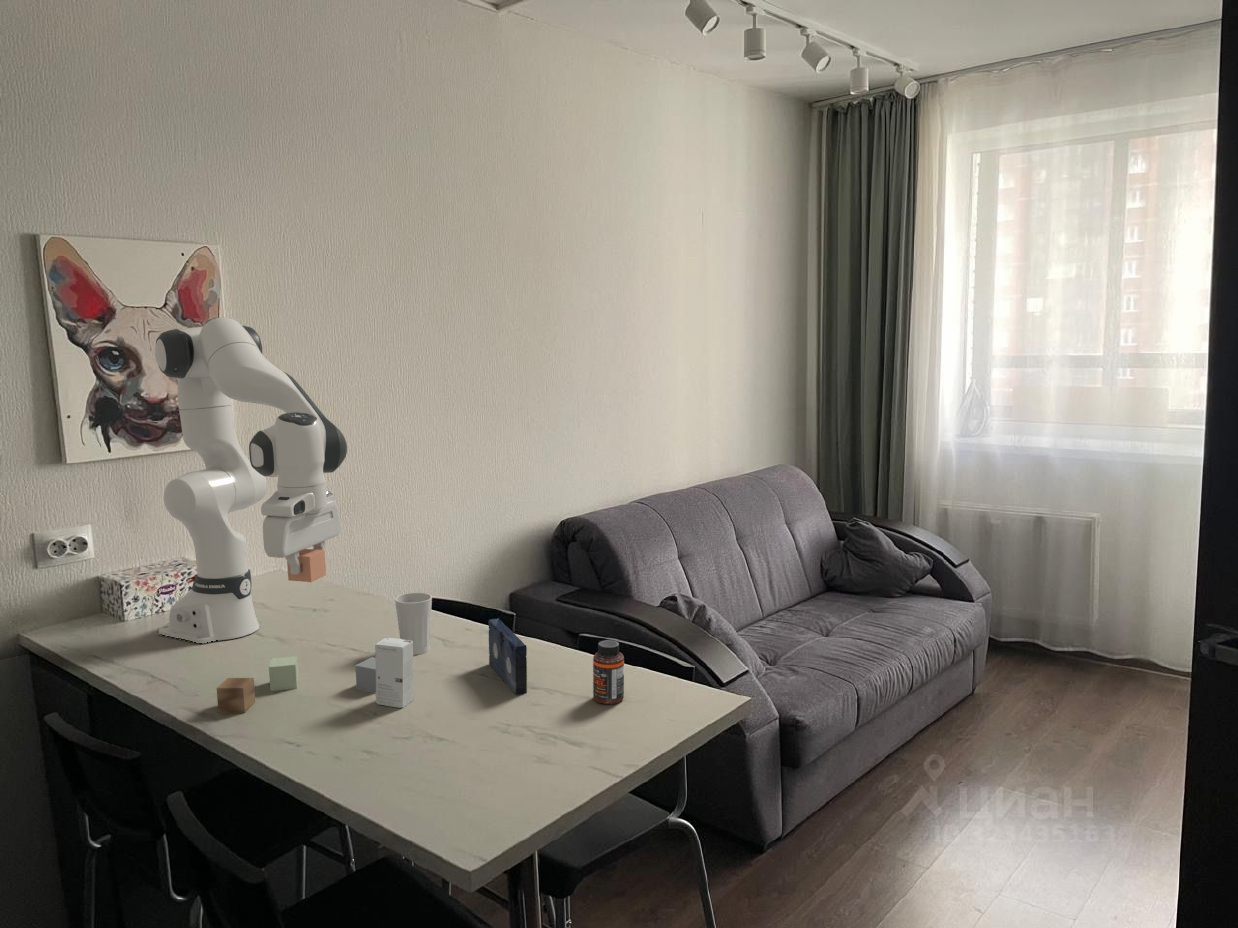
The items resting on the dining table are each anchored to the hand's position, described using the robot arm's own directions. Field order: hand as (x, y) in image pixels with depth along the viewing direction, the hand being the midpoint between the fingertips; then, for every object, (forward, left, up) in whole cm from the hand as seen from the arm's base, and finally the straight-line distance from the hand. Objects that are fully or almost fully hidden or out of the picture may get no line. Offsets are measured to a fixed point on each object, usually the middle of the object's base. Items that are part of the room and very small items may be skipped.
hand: (306, 569), depth 182 cm
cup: (+8, +27, -25) cm, 38 cm away
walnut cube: (-10, -10, -25) cm, 29 cm away
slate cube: (+10, +6, -25) cm, 28 cm away
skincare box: (+18, 0, -25) cm, 31 cm away
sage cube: (-8, +2, -25) cm, 27 cm away
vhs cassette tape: (+34, +17, -25) cm, 46 cm away
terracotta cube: (0, 0, -2) cm, 2 cm away
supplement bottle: (+57, +12, -25) cm, 64 cm away
